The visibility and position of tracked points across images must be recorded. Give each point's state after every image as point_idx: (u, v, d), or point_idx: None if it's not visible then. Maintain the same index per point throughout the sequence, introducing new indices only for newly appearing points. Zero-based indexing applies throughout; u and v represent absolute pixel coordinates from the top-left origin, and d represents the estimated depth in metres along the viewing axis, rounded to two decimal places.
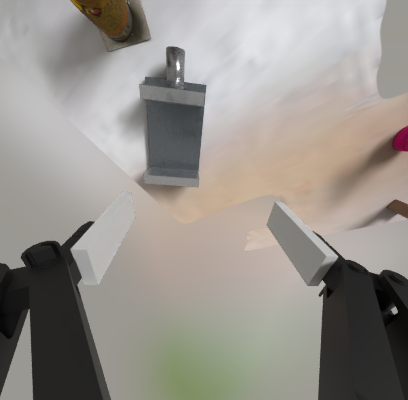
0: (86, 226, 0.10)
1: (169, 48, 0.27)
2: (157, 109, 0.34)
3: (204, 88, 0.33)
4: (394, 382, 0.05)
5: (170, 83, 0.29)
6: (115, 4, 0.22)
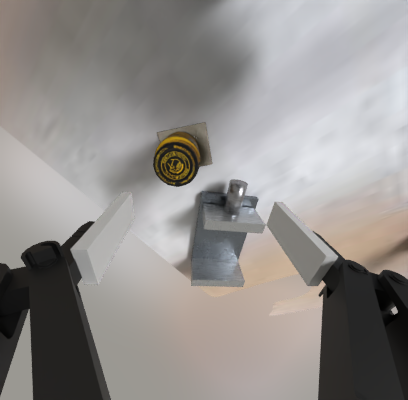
0: (86, 226, 0.10)
1: (235, 186, 0.28)
2: None
3: (256, 201, 0.34)
4: (394, 382, 0.05)
5: (230, 209, 0.30)
6: None
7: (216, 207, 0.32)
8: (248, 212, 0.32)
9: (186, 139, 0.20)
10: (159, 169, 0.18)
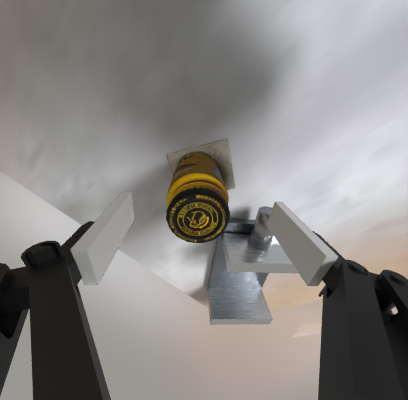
0: (86, 226, 0.10)
1: (267, 218, 0.22)
2: None
3: None
4: (394, 382, 0.05)
5: (259, 245, 0.24)
6: None
7: (240, 239, 0.26)
8: None
9: (210, 176, 0.14)
10: (175, 224, 0.13)
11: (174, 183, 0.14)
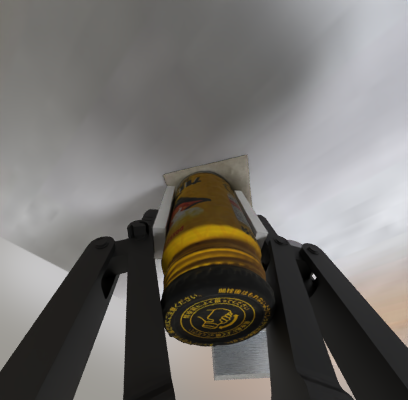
0: (148, 213, 0.12)
1: None
2: None
3: None
4: (319, 338, 0.06)
5: None
6: None
7: None
8: None
9: (236, 229, 0.08)
10: (176, 328, 0.07)
11: (174, 240, 0.08)
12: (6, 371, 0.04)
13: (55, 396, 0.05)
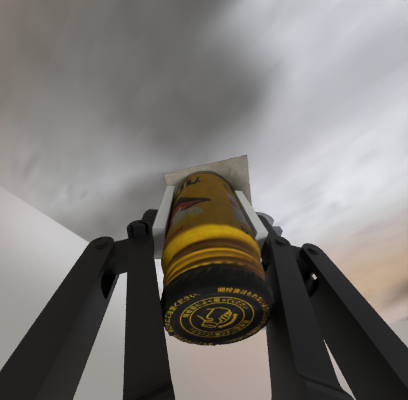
0: (148, 213, 0.12)
1: None
2: None
3: (280, 233, 0.28)
4: (319, 338, 0.06)
5: None
6: None
7: None
8: None
9: (235, 228, 0.08)
10: (175, 327, 0.07)
11: (174, 240, 0.08)
12: (5, 371, 0.04)
13: (55, 396, 0.05)
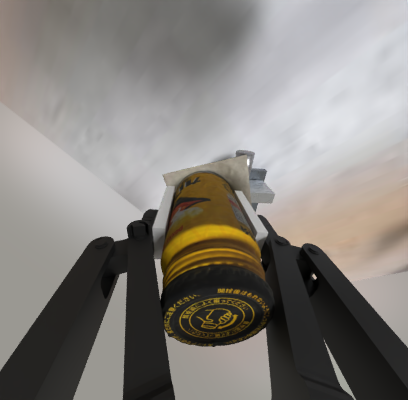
0: (148, 213, 0.12)
1: (242, 155, 0.27)
2: None
3: (264, 173, 0.33)
4: (319, 338, 0.06)
5: None
6: None
7: None
8: (257, 184, 0.31)
9: (235, 229, 0.08)
10: (175, 328, 0.07)
11: (173, 240, 0.08)
12: (5, 371, 0.04)
13: (55, 396, 0.05)
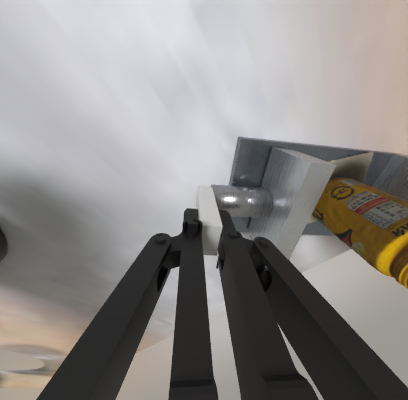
0: (188, 212, 0.13)
1: None
2: None
3: (246, 141, 0.16)
4: (275, 327, 0.06)
5: (260, 215, 0.16)
6: None
7: (256, 220, 0.19)
8: (276, 171, 0.15)
9: (393, 241, 0.12)
10: None
11: (378, 270, 0.13)
12: (86, 336, 0.05)
13: (114, 373, 0.05)
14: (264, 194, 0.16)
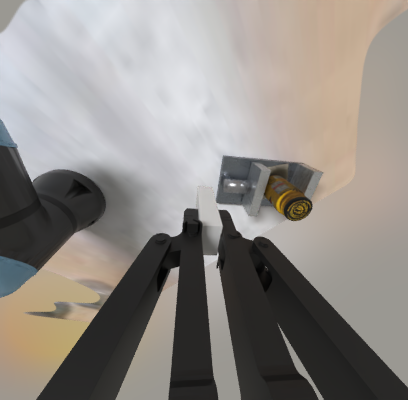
0: (187, 212, 0.13)
1: (225, 191, 0.36)
2: (238, 196, 0.41)
3: (226, 158, 0.36)
4: (275, 327, 0.06)
5: (245, 192, 0.36)
6: (296, 187, 0.33)
7: (245, 196, 0.40)
8: (252, 172, 0.36)
9: (279, 197, 0.32)
10: (297, 218, 0.31)
11: (278, 211, 0.33)
12: (86, 336, 0.05)
13: (114, 373, 0.05)
14: (247, 182, 0.36)
